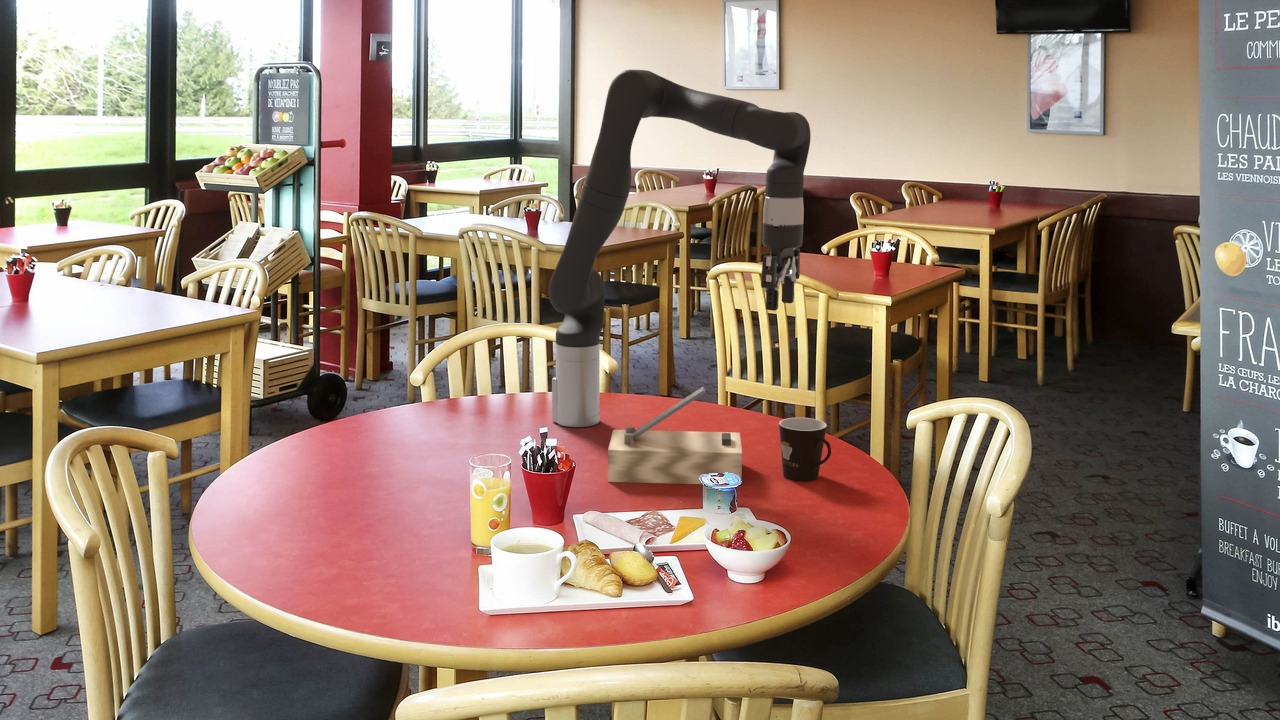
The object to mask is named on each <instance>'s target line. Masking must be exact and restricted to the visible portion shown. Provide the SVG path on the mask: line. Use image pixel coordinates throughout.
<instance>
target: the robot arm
mask: <svg viewBox="0 0 1280 720" xmlns="http://www.w3.org/2000/svg"><path fill="white" fill-rule="evenodd" d="M602 116H603V117H602V120H601V121H602V122H601V123H600V125H601V126H600V130H599V134H598V138H597V141H596V143H595V147H594V149H593V150H594V151H593V153H592V157H591V161H590V164H589V167H588V170H587V174H586V176H585V179H584V182H583V185H582V189H581V191H580V196H579V198H578V203H577V207H576V208H575V209H576V210H575V212H574V216H573V220H572V222H571V225H570V228H569V232H568V236H567V238H566V242H565V244H564V248H563V250H562V252H561V254H560V257H559V258H558V261H557V264H556V266H555V268H554V271H553V273H552V276H551V278H550V281H549V284H548V297H549V301H550V304H551V306H552V307H553V308H554V309H555V310H556V311H557V312H558V313H561V314H564V318H563V320H562V322H561V324H560V325H559V327H557V329H556V331H555V376H554V377H553V378H552V379H551V399H552V400H551V405H552V406H551V407H552V409H551V414H552V415H551V416H552V417H551V418H552V419H551V420H552V421H551V422H553V423H557V424H558V425H560V426H562V427H563V426H564V427H570V428H586V427H592V426H595V425H597V424H599V423H600V413H601V412H600V381H601V378H600V375H601V374H600V362H601V360H600V358H601V357H600V353H601V352H600V348H601V347H600V342H601V341H600V338H601V333H602V331H603V327H604V322H605V321H604V318H605V297H606V296H605V293H606V291H605V284H604V281H603V278H602V276H601V274H600V272H599V271H598V270H596V269H595V268H594V264H595V261H596V259H597V256H598V255H599V252H600V251H601V249H602V247H603V246H604V244H605V243H606V242H607V240H608V239H609V237H610V235H612V232H613V231H614V230H615V228H616V227H617V225H618V224H619V221H620V220H621V217H622V216H623V213H624V211H625V210H624V209H625V207H626V204H627V201H628V198H629V194H630V191H631V185H632V164H631V163H632V162H631V156H632V155H631V152H632V146H633V142H634V140H635V136H636V133H637V131H638V127H639V125H640V122H641V120H642V119H647V118H667V119H668V118H669V119H675V120H680V121H683V122H686V123H690V124H693V125H695V126H697V127H699V128H702V129H704V130H707V131H708V132H712V133H714V134H718V135H722V136H725V137H729V138H733V139H737V140H740V141H741V140H742V141H747V142H749V143H752V144H754V145H757V146H760V147H761V148H765V149H767V150H771V151H774V153H773V157H772V158H773V159H772V164H771V165H770V166H768V168H767V170H766V174H765V175H766V176H765V191H764V194H765V195H764V202H763V209H762V210H763V213H762V235H761V236H762V238H761V239H762V240H761V243H762V245H763V247H766V248H769V249H770V252H769V255H763V256H762V262H761V263H762V265H761V282H760V287H761V288H763V289H764V290H766V292H765V293H766V294H765V309H766V310H767V311H774V312H775V311H777V310H778V309H779V296H780V295H779V294H780V293H779V290H780V286H781V285H782V286H781V303H783V304H792V303H794V300H795V284H796V283H797V280H799V279H800V276H801V275H800V273H801V272H800V269H801V268H800V267H801V259H800V258H801V249H800V248H801V247H802V246H803V241H804V240H803V239H804V237H803V235H804V216H805V215H804V214H805V212H804V211H805V208H804V180H805V179H804V176H805V175H804V174H805V168H806V165H807V161H808V156H809V152H810V145H811V137H812V136H811V127H810V123H809V121H808V120H807V118H806V117H805V116H804V115H803V114H801V113H799V112H795V111H777V110H772V109H767V108H761V107H760V106H758V105H757V104H756V103H755V104H754V103H752V102H749V101H745V100H741V99H738V98H733V97H729V96H725V95H720V94H719V95H718V94H715V93H710V92H709V93H708V92H705V91H699V90H696V89H692V88H689V87H686V86H685V85H681V84H678V83H676V82H674V81H671V80H670V79H668V78H665V77H662V76H660V75H659V74H657V73H654V72H653V71H650V70H645V69H625V70H622V71H620V72H619V73H618V74H616V75H615V77H614V78H613V79H612V80H611V83H610V85H609V88H608V90H607V95H606V99H605V104H604V111H603V115H602ZM781 283H782V284H781Z"/></svg>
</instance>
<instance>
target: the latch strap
mask: <svg viewBox="0 0 1280 720" xmlns="http://www.w3.org/2000/svg"><path fill="white" fill-rule="evenodd" d="M705 393H706V388H705V387H704V386H702V387H700V388H699V389H697V390H696V391H694V392H692V393H691V394H689V395H687V396H686V397H685V398H683V399H681V400H680V401H678V402H677V403H676V404H673V405H672V406H671V407H669V408H668V409H666V410H664V411H663V412H662V413H660V414H658V415H656V416H655V417H653V418H652V419H650V420H649V421H647V422H646V423H644V424H643V425H641V426H639V428H636V429H635V431H634V432H632V433H634V435H633V439H635V438H636V437H638V436H639V435H641V434H643V433H644V432H646V431H647V430H650V429H652V428H654V427H655V426H657V425H658V424H660V423H662V421H664V420H666V419H667V418H669V417H671V416H672V415H673V414H675V413H677V412H678V411H680V410H681V409H683V408H684V407H686V406H687V405H689V404H691V403H692V402H694V401H695V400H697V399H698V398H700V397H702V395H704V394H705Z"/></svg>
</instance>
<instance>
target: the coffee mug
mask: <svg viewBox="0 0 1280 720" xmlns="http://www.w3.org/2000/svg"><path fill="white" fill-rule="evenodd" d="M827 425H828V424H827V423H826V422H825V421H822V420H820V419H816V418H810V417H788V418H784V419H781V420H780V421H779V422H778V427H779V439H780V441H779V442H780V451H781V452H780V454H781V465H782V476H783V478H785V479H786V480H788V481H793V482H797V483H806V482H814V481H816V480H818V478H819V474H820V469H821V465H822V464H825V463H826V462H827V461H828V460H829V459H830V458H831V455H832V448H831V444H830V442H829V441H828V439H826V433H827ZM824 444H825V445H826V449H827V454H826V456H825V457H824V458H823V459H822V457H823V456H822V455H823V450H824Z"/></svg>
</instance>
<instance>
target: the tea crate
mask: <svg viewBox="0 0 1280 720" xmlns="http://www.w3.org/2000/svg"><path fill="white" fill-rule="evenodd" d="M635 430H636V426H629V425H628V426H627V425H626V426H625V429H613V430H612V433H611V437H610V440H609V441H610V442H609V445H608V448H607V449H608V450H607V482H608V483H636V484H638V483H639V484H641V483H643V484H644V483H645V484H680V485H681V484H683V485H702V484H701V483H700V480H699V476H700V475H702V474H709V473H725V472H728V473H734V474H736V475H738V476H739V477H740V478H741V479H742V468H743V465H742V464H743V450H742V449H743V448H742V440H741V432H734V431H733V432H731V431H730V432H727V431H692V430H691V431H689V430H688V431H687V430H686V431H685V430H650V429H649V430H647V431H646V432H644V433H643V434H641V435H639V436H638V437H636V438H635V439H633V435H634V433H632V432H634V431H635Z"/></svg>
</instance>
